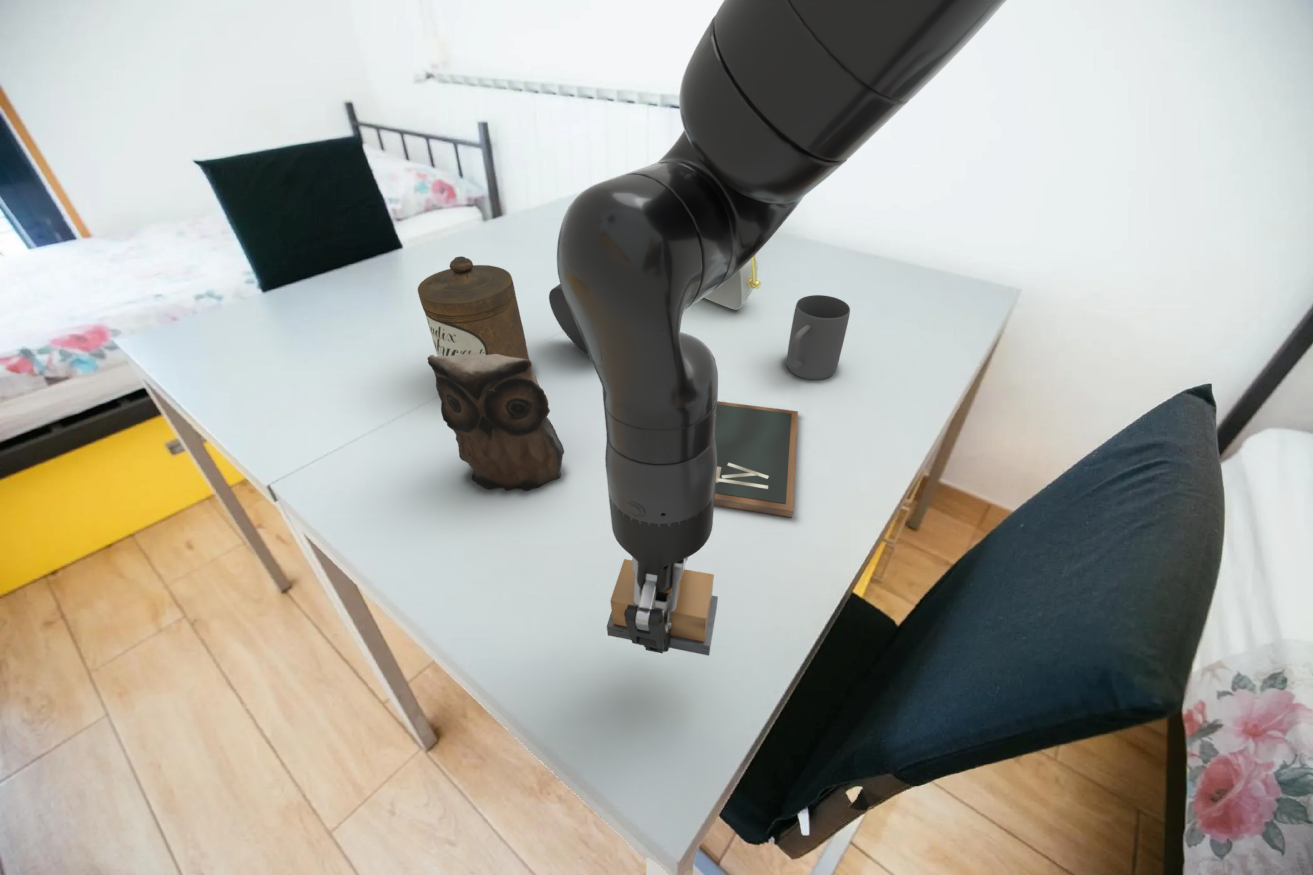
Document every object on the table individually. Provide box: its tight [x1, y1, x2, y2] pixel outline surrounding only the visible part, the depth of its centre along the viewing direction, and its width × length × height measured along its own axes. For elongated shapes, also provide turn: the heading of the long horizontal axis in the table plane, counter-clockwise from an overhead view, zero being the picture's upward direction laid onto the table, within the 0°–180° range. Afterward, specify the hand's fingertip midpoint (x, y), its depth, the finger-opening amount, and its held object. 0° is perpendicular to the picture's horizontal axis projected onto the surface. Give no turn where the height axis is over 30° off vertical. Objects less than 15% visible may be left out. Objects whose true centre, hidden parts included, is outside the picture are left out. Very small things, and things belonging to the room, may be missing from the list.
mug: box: [786, 294, 851, 381], centre depth 94 cm, size 14×9×12 cm
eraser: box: [606, 558, 719, 656], centre depth 47 cm, size 9×5×5 cm, turn 77°
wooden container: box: [417, 256, 532, 371], centre depth 90 cm, size 15×15×22 cm
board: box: [714, 400, 799, 518], centre depth 80 cm, size 18×22×2 cm
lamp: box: [548, 253, 762, 355], centre depth 108 cm, size 27×23×40 cm
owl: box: [427, 353, 565, 492], centre depth 72 cm, size 13×13×20 cm
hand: (663, 617), depth 48 cm, fingers closed on eraser, 5 cm apart
